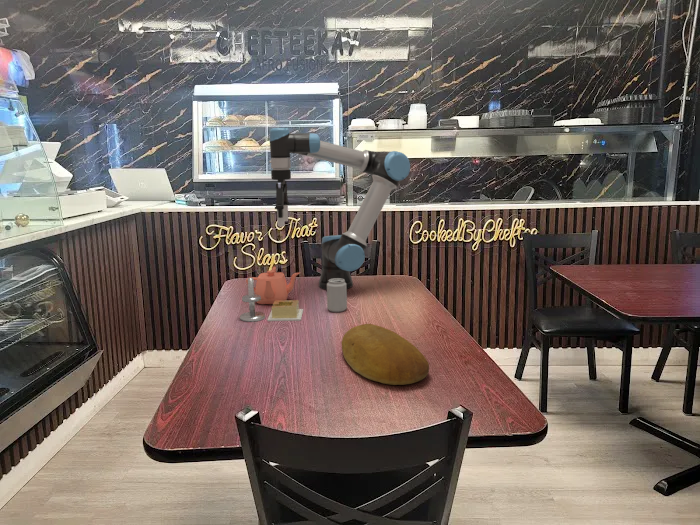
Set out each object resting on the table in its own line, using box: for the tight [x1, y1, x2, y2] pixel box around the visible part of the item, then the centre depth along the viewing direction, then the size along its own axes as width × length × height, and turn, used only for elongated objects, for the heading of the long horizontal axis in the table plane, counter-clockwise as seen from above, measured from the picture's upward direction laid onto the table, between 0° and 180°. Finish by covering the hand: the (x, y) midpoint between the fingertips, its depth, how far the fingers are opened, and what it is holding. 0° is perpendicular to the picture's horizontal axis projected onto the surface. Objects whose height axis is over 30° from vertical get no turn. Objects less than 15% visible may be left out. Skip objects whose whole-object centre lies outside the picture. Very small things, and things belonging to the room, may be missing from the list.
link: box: [271, 299, 300, 318], centre depth 195 cm, size 9×9×4 cm
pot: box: [245, 266, 301, 305], centre depth 215 cm, size 18×17×12 cm
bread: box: [341, 323, 430, 386], centre depth 150 cm, size 18×35×10 cm, turn 28°
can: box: [326, 278, 348, 313], centre depth 200 cm, size 8×8×12 cm
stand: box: [239, 277, 266, 323], centre depth 192 cm, size 9×9×15 cm
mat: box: [267, 308, 304, 322], centre depth 196 cm, size 12×12×1 cm
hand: (283, 223), depth 208 cm, fingers open, 13 cm apart
